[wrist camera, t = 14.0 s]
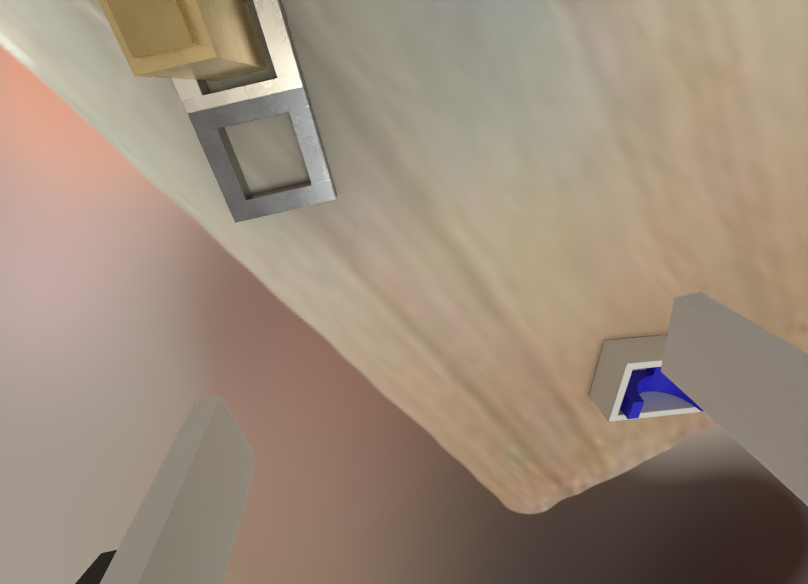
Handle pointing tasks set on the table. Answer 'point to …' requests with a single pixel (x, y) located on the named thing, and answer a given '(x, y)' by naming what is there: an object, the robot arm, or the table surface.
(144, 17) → the brass peg
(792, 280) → the table surface
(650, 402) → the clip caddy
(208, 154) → the grey peg hole board
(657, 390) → the blue arch block
